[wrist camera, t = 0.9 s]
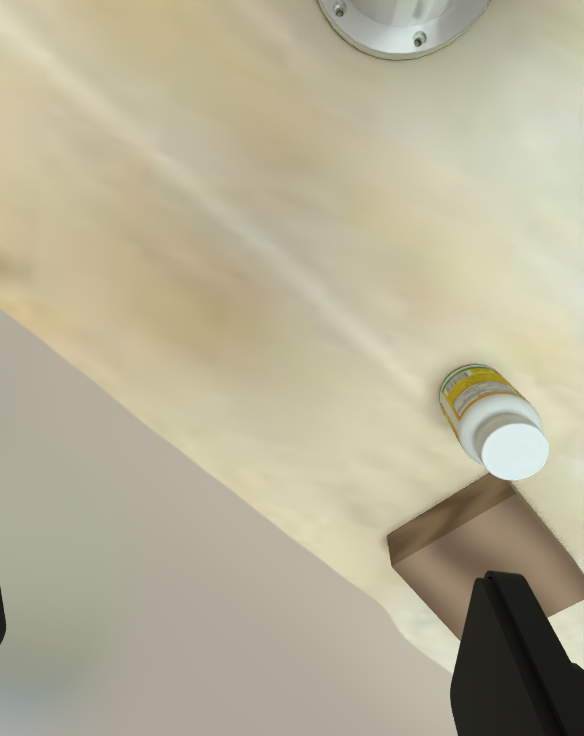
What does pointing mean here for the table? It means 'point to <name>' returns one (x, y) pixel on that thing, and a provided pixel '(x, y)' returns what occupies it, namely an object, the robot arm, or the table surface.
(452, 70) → the table surface
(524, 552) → the walnut stand
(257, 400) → the table surface
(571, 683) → the robot arm
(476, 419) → the supplement bottle
